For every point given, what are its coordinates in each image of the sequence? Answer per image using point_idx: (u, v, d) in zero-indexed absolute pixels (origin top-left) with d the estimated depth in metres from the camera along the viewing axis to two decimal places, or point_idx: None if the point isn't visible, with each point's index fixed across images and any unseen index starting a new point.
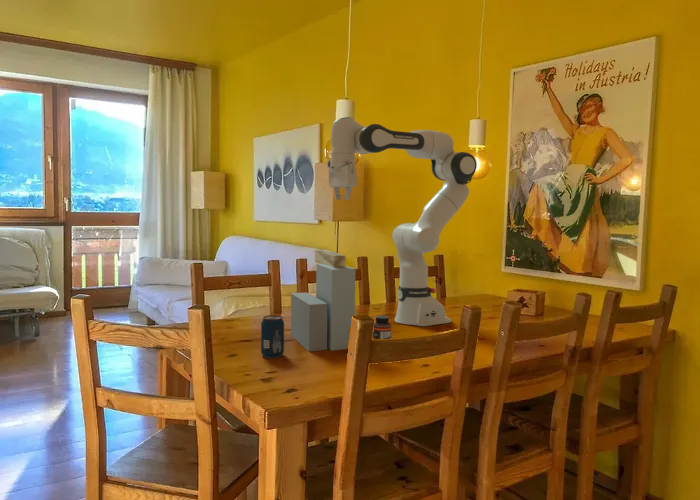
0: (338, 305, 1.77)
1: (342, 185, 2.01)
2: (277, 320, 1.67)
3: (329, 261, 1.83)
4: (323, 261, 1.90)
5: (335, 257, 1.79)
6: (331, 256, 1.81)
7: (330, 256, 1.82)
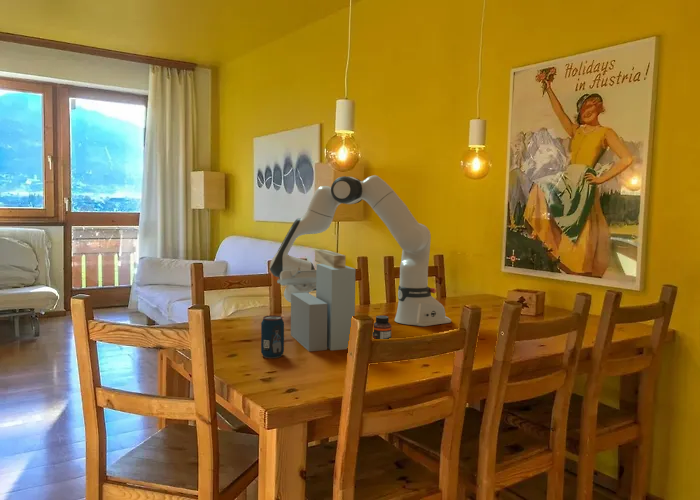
0: (338, 305, 1.77)
1: (295, 278, 2.12)
2: (277, 320, 1.67)
3: (329, 261, 1.83)
4: (323, 261, 1.90)
5: (335, 257, 1.79)
6: (331, 256, 1.81)
7: (330, 256, 1.82)
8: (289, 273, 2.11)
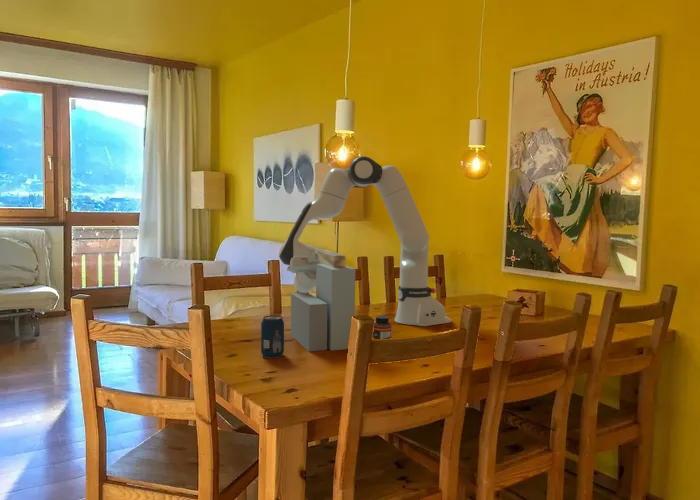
0: (338, 305, 1.77)
1: (307, 265, 1.98)
2: (277, 320, 1.67)
3: (329, 261, 1.83)
4: (323, 261, 1.90)
5: (335, 257, 1.79)
6: (331, 256, 1.81)
7: (330, 256, 1.82)
8: (300, 259, 1.97)
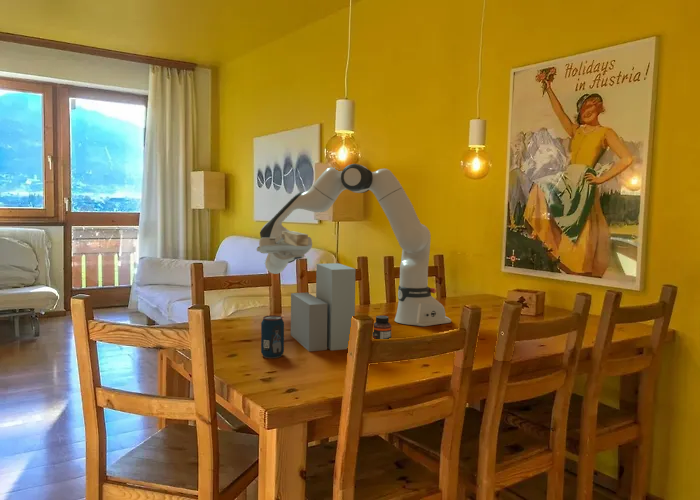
0: (338, 305, 1.77)
1: (275, 246, 2.09)
2: (277, 320, 1.67)
3: (293, 240, 1.94)
4: (288, 241, 2.01)
5: (298, 236, 1.90)
6: (295, 235, 1.92)
7: (294, 235, 1.93)
8: (268, 240, 2.08)
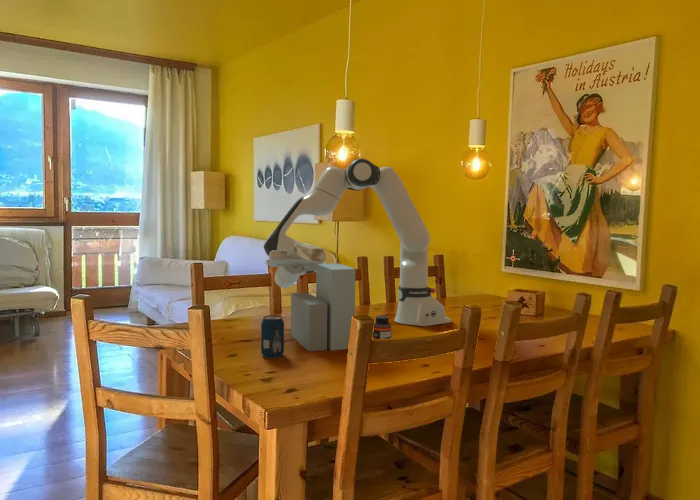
0: (338, 305, 1.77)
1: (286, 259, 1.93)
2: (277, 320, 1.67)
3: (307, 254, 1.79)
4: (301, 254, 1.85)
5: (313, 250, 1.75)
6: (309, 249, 1.77)
7: (308, 249, 1.78)
8: (279, 253, 1.93)
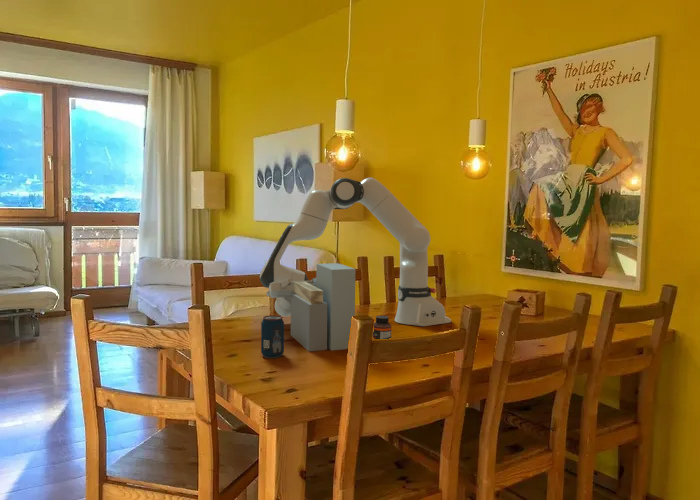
0: (338, 305, 1.77)
1: (286, 291, 1.94)
2: (277, 320, 1.67)
3: (306, 295, 1.80)
4: (301, 294, 1.86)
5: (312, 292, 1.76)
6: (308, 291, 1.78)
7: (307, 291, 1.79)
8: (279, 285, 1.94)
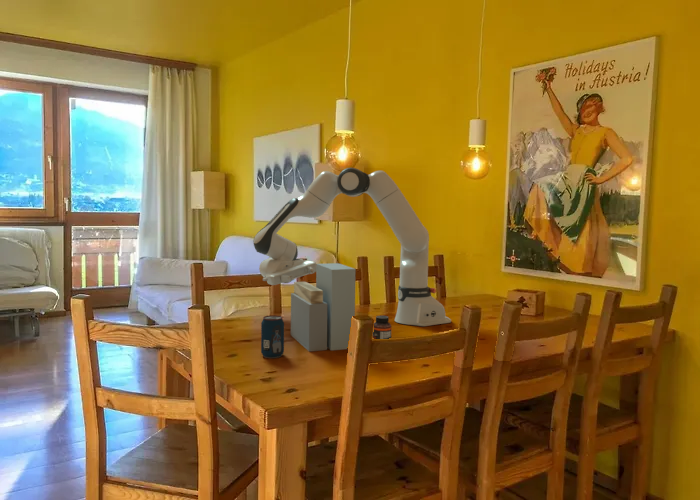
0: (338, 305, 1.77)
1: (285, 281, 2.07)
2: (277, 320, 1.67)
3: (306, 295, 1.80)
4: (301, 294, 1.86)
5: (312, 292, 1.76)
6: (308, 291, 1.78)
7: (307, 291, 1.79)
8: (279, 278, 2.05)
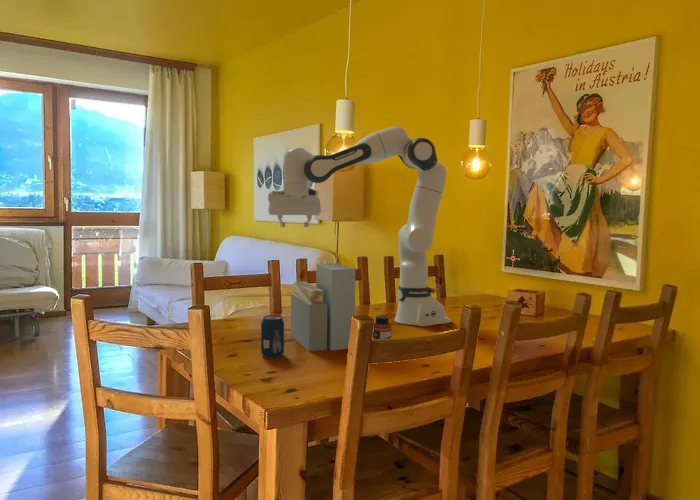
0: (338, 305, 1.77)
1: None
2: (277, 320, 1.67)
3: (306, 295, 1.80)
4: (301, 294, 1.86)
5: (312, 292, 1.76)
6: (308, 291, 1.78)
7: (307, 291, 1.79)
8: None
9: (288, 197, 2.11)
